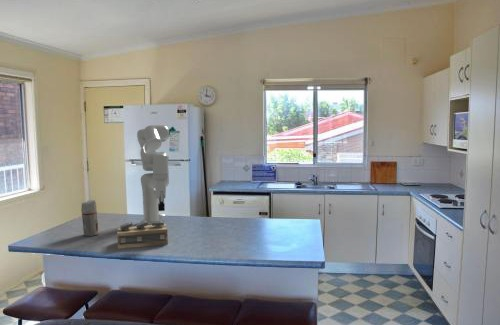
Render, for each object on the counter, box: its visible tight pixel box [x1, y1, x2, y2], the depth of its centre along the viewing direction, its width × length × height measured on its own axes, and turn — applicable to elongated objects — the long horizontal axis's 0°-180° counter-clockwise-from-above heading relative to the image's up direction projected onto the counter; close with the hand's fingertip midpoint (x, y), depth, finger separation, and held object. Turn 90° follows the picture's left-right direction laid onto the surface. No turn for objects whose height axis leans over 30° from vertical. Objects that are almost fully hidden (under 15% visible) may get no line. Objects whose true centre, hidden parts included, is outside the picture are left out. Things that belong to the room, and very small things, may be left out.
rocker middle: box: [135, 221, 149, 229], centre depth 211 cm, size 4×6×2 cm
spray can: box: [80, 199, 99, 237], centre depth 228 cm, size 8×8×20 cm
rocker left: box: [119, 221, 134, 230], centre depth 209 cm, size 4×6×2 cm
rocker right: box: [151, 220, 165, 226], centre depth 213 cm, size 4×6×2 cm
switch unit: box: [116, 222, 169, 250], centre depth 211 cm, size 12×25×11 cm, turn 106°
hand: (161, 210), depth 214 cm, fingers closed
